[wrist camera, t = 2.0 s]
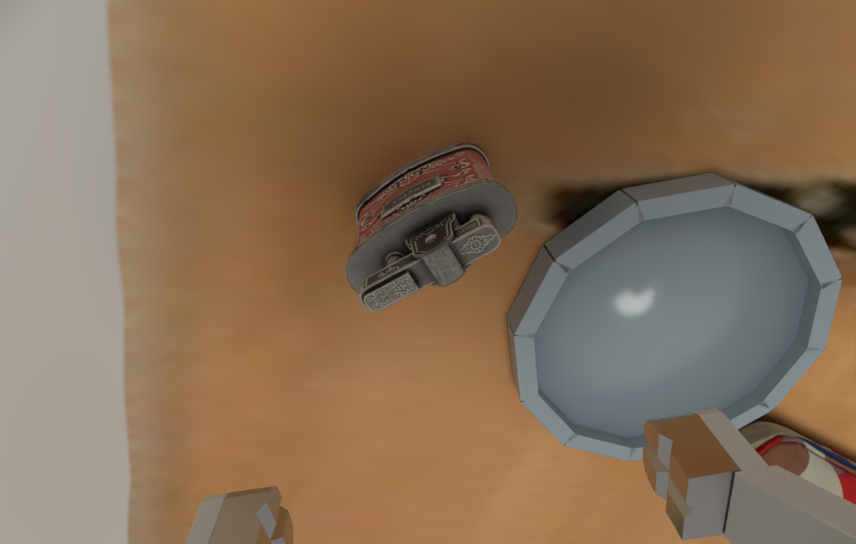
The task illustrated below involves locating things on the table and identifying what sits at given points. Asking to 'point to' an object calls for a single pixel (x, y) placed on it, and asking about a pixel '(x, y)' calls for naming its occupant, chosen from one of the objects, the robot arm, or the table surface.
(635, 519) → the table surface
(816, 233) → the dish
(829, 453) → the pencil case
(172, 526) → the table surface
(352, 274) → the lighter
